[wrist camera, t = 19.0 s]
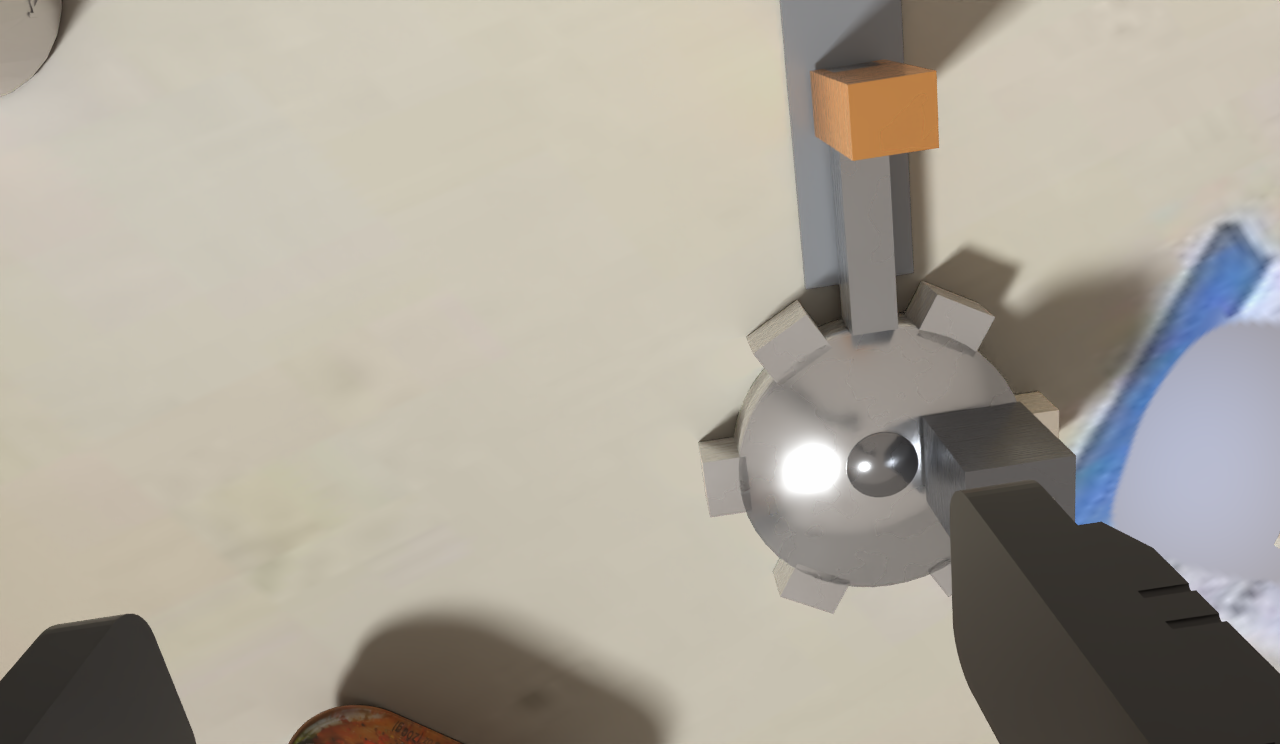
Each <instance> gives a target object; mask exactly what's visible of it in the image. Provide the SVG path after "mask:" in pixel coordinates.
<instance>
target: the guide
mask: <svg viewBox="0 0 1280 744" xmlns="http://www.w3.org/2000/svg"><path fill="white" fill-rule="evenodd" d="M780 9H781V20H782V31H783V43H784V54H785V65H786V77H787V88H788V99H789V110H790V122H791V133H792V144H793V156H794V167H795V178H796V189H797V201H798V212H799V223H800V235H801V246H802V257H803V268H804V280H805V288H806V289H811V288H818V287H825V286H831V285H838V284H839V273H838V259H837V246H836V233H835V219H834V206H833V193H832V179H831V166H830V153H829V145H828V144H826V143H825V142H823V141H822V140H820V139H819V138H817V137H816V136H815V129H814V116H813V104H812V91H811V79H810V71H814V70H820V69H826V68H833V67H839V66H846V65H852V64H858V63H865V62H871V61H878V60H884V59H885V60H890V61H894V62H899V63H903V64H904V52H903V30H902V8H901V0H780ZM889 162H890V181H891V200H892V219H893V238H894V256H895V275H896V276H897V275H904V274H910V273H914V270H913V248H912V226H911V204H910V183H909V161H908V153H901V154H895V155H889Z"/></svg>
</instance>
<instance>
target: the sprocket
mask: <svg viewBox="0 0 1280 744" xmlns="http://www.w3.org/2000/svg"><path fill="white" fill-rule="evenodd" d="M994 319H995V317H994V316H993V315H992V314H991V313H989V312H988V311H987V310H986V309H985V308H983V307H982V306H981V305H980V304H978V303H977V302H975V301H972V300H970V299H967V298H965V297H962V296H960V295H957V294H955V293H952V292H949V291H947V290H944V289H942V288H939V287H937V286H934V285H932V284H929V283H927V282H924V281H921V283H920V285H919V287H918V289H917V291H916V293H915V295H914V297H913V299H912V301H911V303H910V304H909V306H908V308H907V310H906V312H905V314H899V313H898V329H894V330H887V331H881V332H874V333H868V334H861V335H854V336H853V335H852V334H851V333H850V331H849V330H848V329H847V327H846V326H845V325H844V323H843V322H842V319H839V320H836V321H833V322H830V323H827V324H825V325H822V326H820V327H818V326H817V325H816V324H815V322H814V321H813V320H812V318H811V317H810V316H809V314H808V313H807V312H806V310H805V309H804V308H803V307H802V305H801V304H800V303H799V301H798V300H796V301H794V302H793V303H792V304H790V305H789V306H788V307H786V308H785V309H784V310H782V311H781V312H780V313H778V314H777V315H775V316H774V317H773V318H771V319H770V320H769V321H767V322H766V323H765V324H763V325H762V326H761V327H759V328H758V329H757V330H755V331H754V332H753V333H751V334H750V335H749V336H747V337H746V338H747V340H748V343H749V345H750V348H751V350H752V352H753V354H754V356H755V357H756V358H757V359H758V361H759V362H760V363H761V364H762V365H763V367H764V369H763V370H762V372H761V373H760V374H759V376H758V377H757V379H756V380H755V381H754V383H753V384H752V386H751V388H750V390H749V392H748V393H747V395H746V397H745V399H744V401H743V404H742V407H741V409H740V412H739V414H738V418H737V422H736V426H735V431H734V437H730V438H723V439H717V440H710V441H703V442H698V444H699V451H700V458H701V466H702V473H703V480H704V487H705V494H706V499H707V504H708V509H709V514H710V517H716V516H722V515H729V514H736V513H743V512H747V515H748V517H749V519H750V521H751V523H752V525H753V527H754V528H755V530H756V532H757V533H758V534H759V536H760V537H761V538H762V540H763V541H764V543H765V544H766V545H767V546H768V547H769V548H770V549H771V550H772V551H773V552H774V553H775V554H776V555H777V556H778V557H780V558H779V560H778V562H777V564H776V566H775V568H774V570H773V574H774V577H775V580H776V584H777V587H778V591H779V594H780V597H783V598H786V599H789V600H792V601H795V602H798V603H802V604H805V605H808V606H811V607H814V608H817V609H820V610H823V611H826V612H829V613H832V614H833V613H834V611H835V610H836V608H837V606H838V604H839V602H840V601H841V599H842V597H843V595H844V593H845V591H846V590H847V588H848V586H854V587H877V586H888V585H894V584H899V583H904V582H908V581H911V580H914V579H918V578H921V577H924V576H926V575H929V574H930V575H931V576H932V577H933V578H934V580H935V581H936V582H937V583H938V585H939V586H940V587H941V588H942V590H943V591H944V592H945V593H946V594H947V596H948V597H949V596H951V595H952V577H951V545H950V537H949V536H948V534H947V533H946V531H945V530H944V528H943V526H942V525H941V523H940V522H939V520H938V519H937V517H936V516H935V514H934V512H933V511H932V509H931V508H930V506H929V505H928V503H927V499H926V479H925V459H924V439H923V419H922V416H928V415H934V414H941V413H947V412H954V411H960V410H967V409H974V408H980V407H987V406H993V405H1000V404H1006V403H1013V402H1019V401H1020V402H1021V403H1022V404H1023V405H1024V406H1025V407H1026V408H1027V409H1028V410H1029V411H1030V412H1031V413H1032V414H1033V415H1034V416H1036V417H1037V418H1038V419H1039V420H1040V421H1041V422H1042V423H1043V424H1044V425H1045V426H1046V427H1047V428H1048V429H1049V430H1050V431H1051V432H1052V433H1053V434H1054V435H1055V436H1056V437H1057V438H1058V439H1059V409H1058V408H1056V407H1055V406H1054V405H1053V404H1052V403H1051V402H1050V401H1049V400H1048V399H1046V398H1045V397H1044V396H1043V395H1042V394H1041V393H1040V392H1032V393H1025V394H1019V395H1014V394H1013V392H1012V390H1011V389H1010V387H1009V385H1008V384H1007V382H1006V380H1005V379H1004V378H1003V377H1002V375H1001V374H1000V373H999V372H998V371H997V369H996V368H995V367H994V366H993V365H992V364H991V363H990V362H989V361H988V360H987V359H986V358H985V357H984V356H983V355H981V354H980V353H979V352H978V351H977V350H978V348H979V346H980V344H981V343H982V341H983V339H984V337H985V335H986V333H987V332H988V330H989V328H990V326H991V324H992V322H993V321H994Z"/></svg>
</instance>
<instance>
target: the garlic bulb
mask: <svg viewBox="0 0 1280 744" xmlns="http://www.w3.org/2000/svg"><path fill="white" fill-rule="evenodd" d="M1274 545H1275V546H1276V547H1278V548H1280V534H1279V536H1278V538H1277V540H1276V542H1275V544H1274Z"/></svg>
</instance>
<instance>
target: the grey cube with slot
mask: <svg viewBox="0 0 1280 744" xmlns="http://www.w3.org/2000/svg"><path fill="white" fill-rule="evenodd" d="M922 419H923V439H924V459H925V479H926V499H927V503H928V505H929V506H930V508H931V509H932V511H933V512H934V514H935V516H936V517H937V519H938V520H939V522H940V523H941V525H942V526H943V528H944V530H945V531H946V533H947V534H948V536H949V537H950V502H951V498H952V495H953V494H954V492H956V491H959V490H966V489H972V488H979V487H986V486H992V485H999V484H1005V483H1012V482H1019V481H1025V480H1035V481H1036V482H1038V483H1039V484H1040V485H1041V486H1042V487H1043V488H1044V489H1045V490H1046V491H1047V492H1048V493H1049V494H1050V495H1051V496H1052V498H1053V499H1054V500H1055V501H1056V502H1057V503H1058V504H1059V505H1060V506H1061V507H1062V509H1063V510H1064V511H1065V512H1066V513H1067V514H1068V515H1069V516H1070V517H1071V518H1072V520H1073V521H1074V522H1075V472H1076V455H1075V454H1074V453H1073V452H1072V451H1071V450H1070V449H1068V448H1067V447H1066V446H1065V445H1064V444H1063V443H1062V442H1061V441H1060V440H1059V439H1058V438H1057V437H1056V436H1055V435H1054V434H1053V433H1052V432H1051V431H1050V430H1049V429H1048V428H1047V427H1046V426H1045V425H1044V424H1043V423H1042V422H1041V421H1040V420H1039V419H1038V418H1037V417H1036V416H1034V415H1033V414H1032V413H1031V412H1030V411H1029V410H1028V409H1027V408H1026V407H1025V406H1024V405H1023V404H1022V403H1021V402H1020V401H1019V402H1013V403H1006V404H1000V405H993V406H987V407H980V408H974V409H967V410H960V411H954V412H947V413H941V414H934V415H928V416H922Z"/></svg>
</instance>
